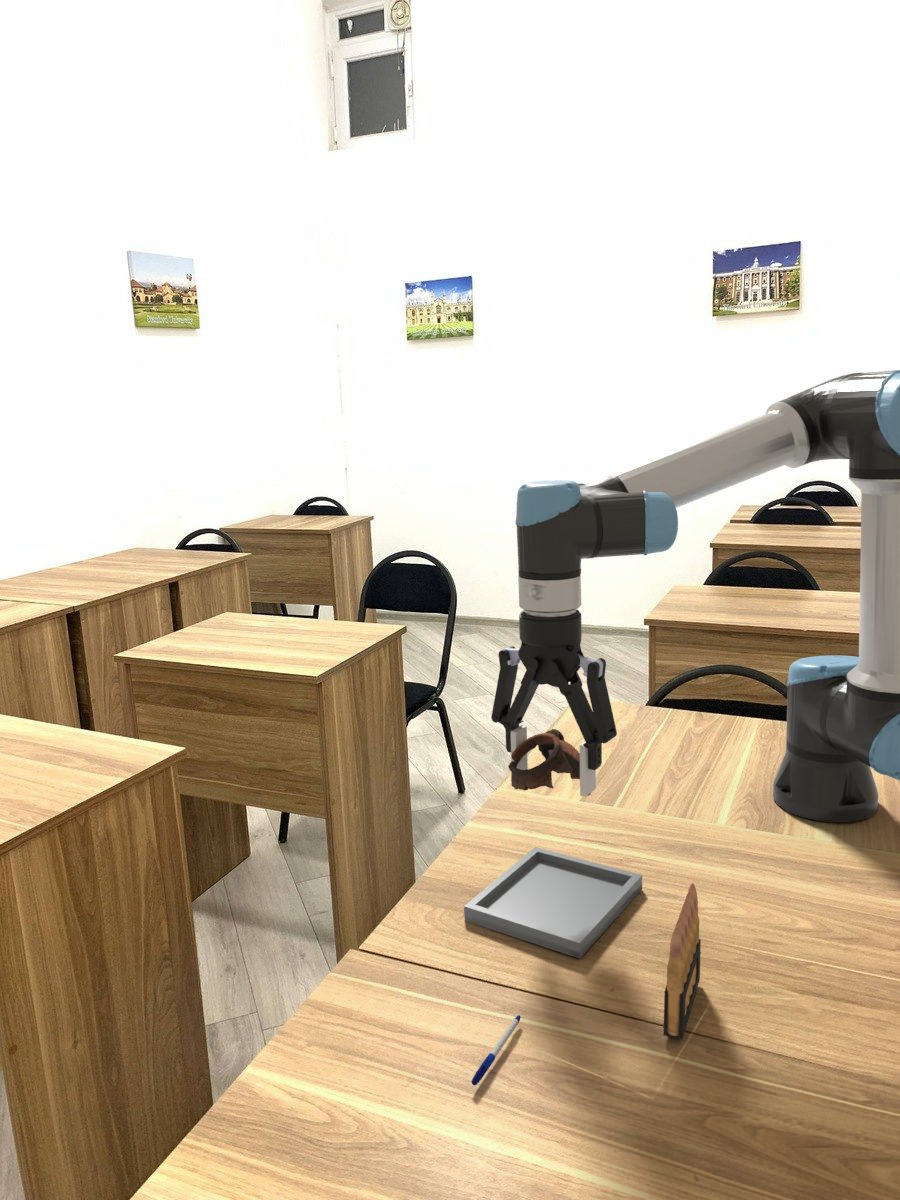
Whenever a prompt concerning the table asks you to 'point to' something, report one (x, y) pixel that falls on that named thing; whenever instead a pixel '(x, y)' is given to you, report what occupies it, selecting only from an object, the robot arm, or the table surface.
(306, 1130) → the table surface
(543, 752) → the broken brown clay pot
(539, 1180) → the table surface
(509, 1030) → the ballpoint pen
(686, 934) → the ammunition clip
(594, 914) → the tray
